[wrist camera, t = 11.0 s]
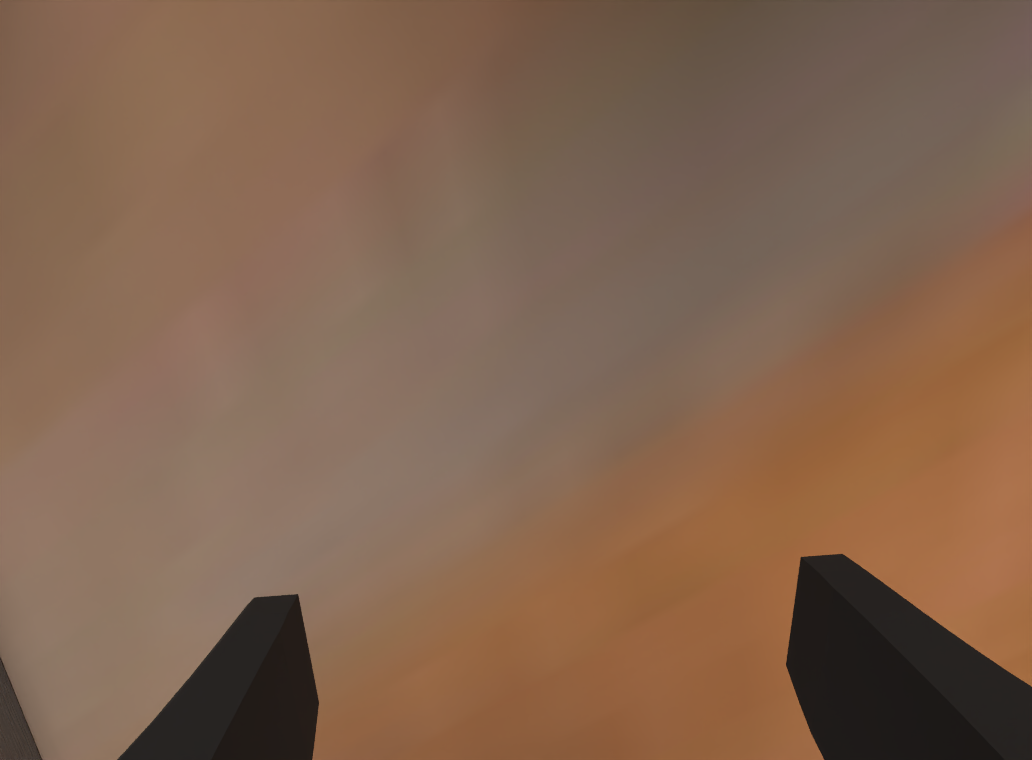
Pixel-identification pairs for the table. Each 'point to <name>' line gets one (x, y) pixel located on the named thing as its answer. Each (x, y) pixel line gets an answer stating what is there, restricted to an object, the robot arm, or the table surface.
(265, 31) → the table surface
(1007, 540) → the table surface
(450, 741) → the table surface
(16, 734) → the clevis block
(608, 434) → the table surface
